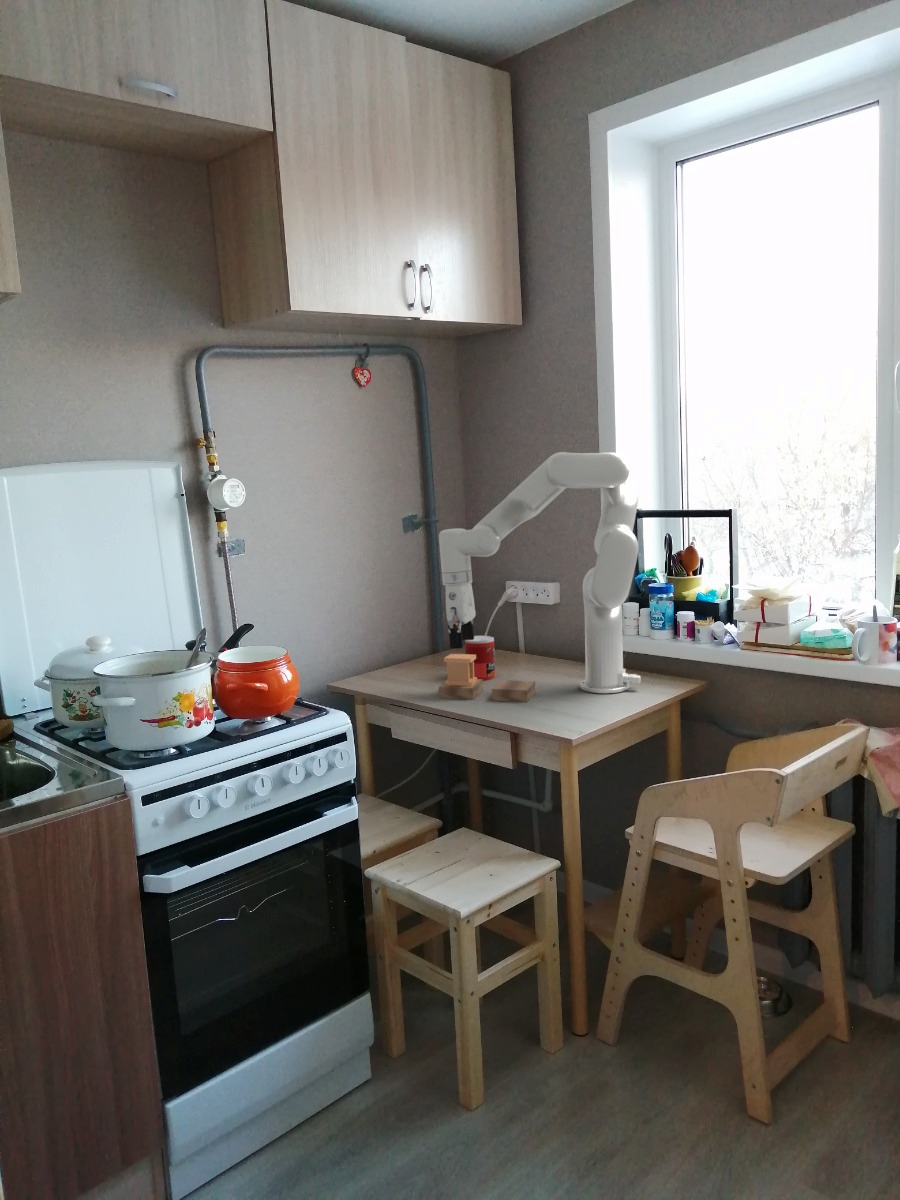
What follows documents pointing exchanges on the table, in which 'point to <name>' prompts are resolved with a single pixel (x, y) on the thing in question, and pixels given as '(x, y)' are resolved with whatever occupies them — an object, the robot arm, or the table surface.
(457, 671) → the housing
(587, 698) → the table surface
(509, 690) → the stand
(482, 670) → the canned food
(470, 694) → the stand
